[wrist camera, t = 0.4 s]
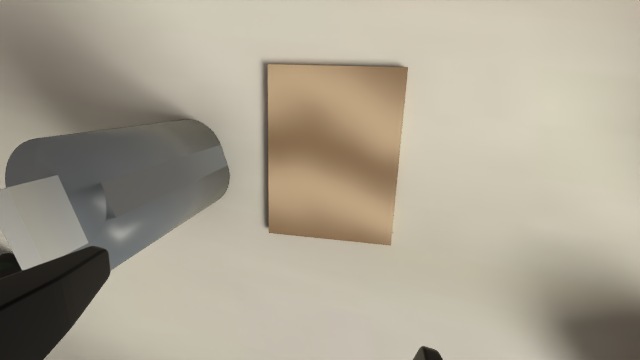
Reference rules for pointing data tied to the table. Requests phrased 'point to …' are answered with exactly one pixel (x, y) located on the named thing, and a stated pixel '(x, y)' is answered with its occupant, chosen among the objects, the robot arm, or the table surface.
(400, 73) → the cork pad
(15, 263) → the cup
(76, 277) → the robot arm
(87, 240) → the grey tall rounded piece
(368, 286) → the table surface
